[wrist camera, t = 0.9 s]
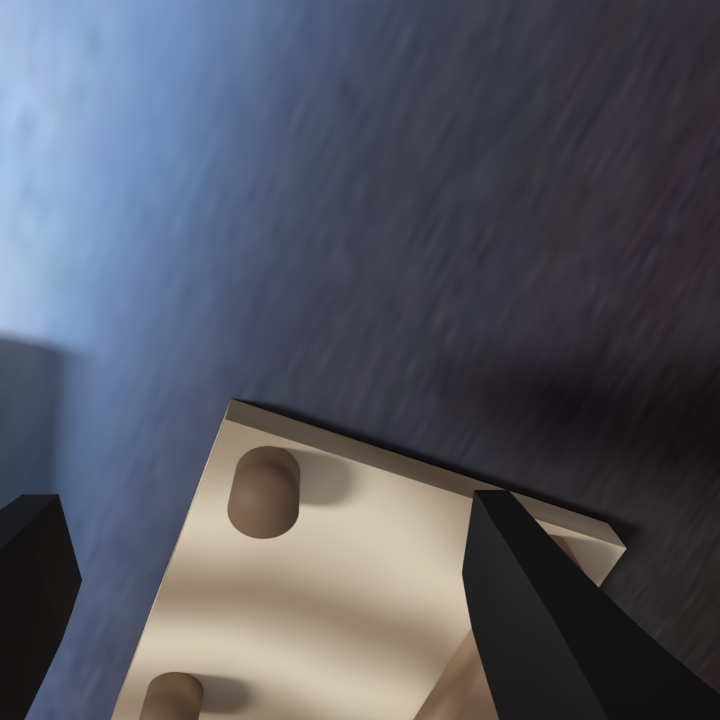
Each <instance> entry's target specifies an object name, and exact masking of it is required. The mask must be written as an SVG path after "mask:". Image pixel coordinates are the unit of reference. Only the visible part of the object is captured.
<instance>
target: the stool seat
mask: <svg viewBox="0 0 720 720" xmlns="http://www.w3.org/2000/svg"><path fill="white" fill-rule="evenodd" d="M474 490H506V489H502V488H499V487H496V486H493V485H490V484H487V483H484V482H481V481H478V480H475V479H472V478H469V477H466V476H463V475H460V474H457V473H454V472H451V471H448V470H445V469H442V468H439V467H436V466H433V465H430V464H427V463H424V462H421V461H418V460H415V459H412V458H409V457H406V456H403V455H400V454H397V453H394V452H391V451H388V450H385V449H382V448H378V447H375V446H372V445H369V444H366V443H363V442H360V441H357V440H354V439H351V438H348V437H345V436H342V435H339V434H336V433H333V432H330V431H327V430H324V429H321V428H318V427H315V426H312V425H309V424H306V423H303V422H300V421H297V420H294V419H291V418H288V417H285V416H282V415H279V414H276V413H273V412H270V411H267V410H264V409H261V408H258V407H254V406H251V405H248V404H245V403H242V402H239V401H236V400H233V399H231V400H230V403H229V405H228V408H227V411H226V413H225V416H224V418H223V421H222V424H221V426H220V429H219V432H218V434H217V437H216V440H215V442H214V445H213V448H212V450H211V453H210V456H209V458H208V461H207V463H206V466H205V469H204V471H203V474H202V477H201V479H200V482H199V485H198V487H197V490H196V493H195V495H194V498H193V501H192V503H191V506H190V508H189V511H188V514H187V516H186V519H185V522H184V524H183V527H182V530H181V532H180V535H179V538H178V540H177V543H176V546H175V548H174V551H173V553H172V556H171V559H170V561H169V564H168V567H167V569H166V572H165V575H164V577H163V580H162V583H161V585H160V588H159V591H158V593H157V596H156V599H155V601H154V604H153V606H152V609H151V612H150V614H149V617H148V620H147V622H146V625H145V628H144V630H143V633H142V636H141V638H140V641H139V644H138V646H137V649H136V651H135V654H134V657H133V659H132V662H131V665H130V667H129V670H128V673H127V675H126V678H125V681H124V683H123V686H122V689H121V691H120V694H119V697H118V700H117V703H116V706H115V709H114V712H113V715H112V718H111V720H413V719H414V718H415V716H416V714H417V713H418V711H419V710H420V708H421V707H422V705H423V704H424V702H425V700H426V699H427V697H428V696H429V694H430V693H431V691H432V689H433V688H434V686H435V685H436V683H437V682H438V680H439V678H440V677H441V675H442V674H443V672H444V671H445V669H446V667H447V666H448V664H449V663H450V661H451V660H452V658H453V656H454V655H455V653H456V652H457V650H458V649H459V647H460V646H461V644H462V642H463V641H464V639H465V638H466V636H467V635H468V633H469V631H470V630H471V623H470V617H469V612H468V607H467V602H466V596H465V590H464V584H463V578H462V567H463V560H464V554H465V547H466V540H467V534H468V527H469V521H470V514H471V507H472V501H473V494H474ZM510 492H511V493H512V494H513V496H514V497H515V498H516V499H517V500H518V501H519V502H520V503H521V504H522V505H523V507H524V508H525V509H526V510H527V511H528V512H529V513H530V514H531V515H532V517H533V518H534V519H535V520H536V521H537V522H538V523H539V524H540V526H541V527H542V528H543V529H544V530H545V531H546V532H547V533H548V534H549V535H550V537H551V538H552V539H553V540H554V541H555V542H556V543H557V544H558V545H559V546H560V548H561V549H562V550H563V551H564V552H565V553H566V554H567V555H568V556H569V557H570V558H571V559H572V560H573V561H574V562H575V563H576V564H577V566H578V567H579V568H580V569H581V570H582V571H583V572H584V573H585V574H586V575H587V576H588V577H589V578H590V579H591V580H592V581H593V582H594V583H595V584H596V585H597V586H598V587H599V586H600V585H601V583H602V582H603V580H604V579H605V578H606V576H607V575H608V573H609V572H610V571H611V569H612V568H613V566H614V565H615V564H616V562H617V561H618V560H619V558H620V557H621V555H622V554H623V553H624V551H625V550H626V547H625V546H624V544H623V543H622V542H621V540H620V539H619V538H618V536H617V535H616V534H615V532H614V531H613V530H612V528H611V527H610V526H609V524H608V523H605V522H602V521H599V520H596V519H593V518H590V517H587V516H584V515H581V514H578V513H575V512H572V511H569V510H566V509H563V508H560V507H557V506H554V505H551V504H548V503H545V502H542V501H539V500H536V499H533V498H530V497H527V496H524V495H521V494H518V493H515V492H512V491H510Z"/></svg>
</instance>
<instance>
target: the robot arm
mask: <svg viewBox="0 0 720 720" xmlns="http://www.w3.org/2000/svg"><path fill="white" fill-rule="evenodd" d="M462 578H463V584H464V590H465V596H466V602H467V607H468V612H469V617H470V623H471V628H472V632H473V635H474V639H475V642H476V645H477V649H478V652H479V656H480V659H481V662H482V666H483V669H484V672H485V676H486V679H487V682H488V686H489V689H490V692H491V695H492V699H493V702H494V705H495V709H496V712H497V715H498V718H499V720H720V694H718V693H717V692H716V691H715V690H713V689H712V688H711V687H710V686H708V685H707V684H706V683H705V682H704V681H702V680H701V679H700V678H699V677H698V676H696V675H695V674H694V673H693V672H692V671H690V670H689V669H688V668H687V667H686V666H684V665H683V664H682V663H681V662H679V661H678V660H677V659H676V658H675V657H673V656H672V655H671V654H670V653H669V652H667V651H666V650H665V649H664V648H663V647H662V646H661V645H659V644H658V643H657V642H656V641H655V640H654V639H653V638H652V637H650V636H649V635H648V634H647V633H646V632H645V631H644V630H643V629H642V628H641V627H640V626H638V625H637V624H636V623H635V622H634V621H633V620H632V619H631V618H630V617H629V616H628V615H627V614H626V613H625V612H623V611H622V610H621V609H620V608H619V607H618V606H617V605H616V604H615V603H614V602H613V601H612V600H611V599H610V598H609V597H608V596H607V595H606V594H605V593H604V592H603V591H602V590H601V589H600V588H599V587H598V586H597V585H596V584H595V583H594V582H593V581H592V580H591V579H590V578H589V577H588V576H587V575H586V574H585V573H584V572H583V571H582V570H581V569H580V568H579V567H578V566H577V564H576V563H575V562H574V561H573V560H572V559H571V558H570V557H569V556H568V555H567V554H566V553H565V552H564V551H563V550H562V549H561V548H560V546H559V545H558V544H557V543H556V542H555V541H554V540H553V539H552V538H551V537H550V535H549V534H548V533H547V532H546V531H545V530H544V529H543V528H542V527H541V526H540V524H539V523H538V522H537V521H536V520H535V519H534V518H533V517H532V515H531V514H530V513H529V512H528V511H527V510H526V509H525V508H524V507H523V505H522V504H521V503H520V502H519V501H518V500H517V499H516V498H515V497H514V496H513V494H512V493H511V492H510V491H509V490H474V494H473V501H472V507H471V514H470V521H469V527H468V534H467V540H466V547H465V554H464V560H463V567H462ZM81 582H82V579H81V575H80V571H79V568H78V564H77V560H76V557H75V553H74V549H73V546H72V542H71V538H70V535H69V531H68V527H67V524H66V520H65V516H64V512H63V509H62V505H61V501H60V498H59V494H55V495H21V496H20V497H18V498H17V499H15V500H14V501H13V502H11V503H10V504H8V505H7V506H6V507H4V508H3V509H1V510H0V720H24V719H25V717H26V715H27V713H28V711H29V709H30V707H31V705H32V703H33V701H34V699H35V697H36V694H37V692H38V690H39V688H40V686H41V684H42V682H43V680H44V678H45V675H46V673H47V671H48V669H49V667H50V665H51V663H52V661H53V658H54V656H55V654H56V652H57V650H58V648H59V645H60V643H61V641H62V639H63V636H64V633H65V630H66V627H67V625H68V622H69V619H70V616H71V613H72V610H73V607H74V604H75V601H76V598H77V594H78V591H79V588H80V585H81Z"/></svg>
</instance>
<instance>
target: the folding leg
mask: <svg viewBox="0 0 720 720" xmlns="http://www.w3.org/2000/svg"><path fill="white" fill-rule="evenodd" d="M413 720H499V718H498V715H497V712H496V709H495V705H494V702H493V699H492V695H491V692H490V689H489V686H488V682H487V679H486V676H485V672H484V669H483V666H482V662H481V659H480V656H479V652H478V649H477V645H476V642H475V639H474V635H473V632H472V628H471V630H470V631H469V633H468V635H467V636H466V638H465V639H464V641H463V642H462V644H461V646H460V647H459V649H458V650H457V652H456V653H455V655H454V656H453V658H452V660H451V661H450V663H449V664H448V666H447V667H446V669H445V671H444V672H443V674H442V675H441V677H440V678H439V680H438V682H437V683H436V685H435V686H434V688H433V689H432V691H431V693H430V694H429V696H428V697H427V699H426V700H425V702H424V704H423V705H422V707H421V708H420V710H419V711H418V713H417V714H416V716H415V718H414V719H413Z"/></svg>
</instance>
